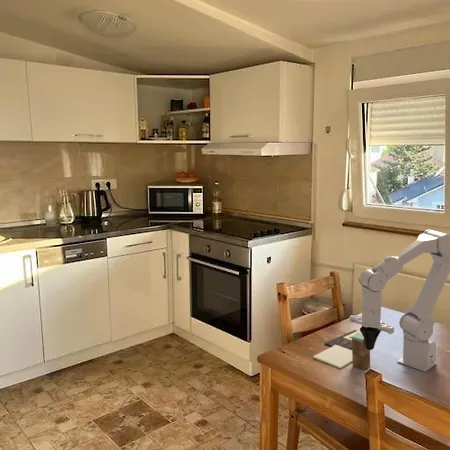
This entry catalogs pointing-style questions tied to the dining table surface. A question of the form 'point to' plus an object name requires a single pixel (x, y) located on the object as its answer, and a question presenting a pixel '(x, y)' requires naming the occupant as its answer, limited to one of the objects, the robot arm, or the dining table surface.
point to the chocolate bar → (343, 340)
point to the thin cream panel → (335, 356)
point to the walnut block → (360, 352)
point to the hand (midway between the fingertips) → (370, 348)
